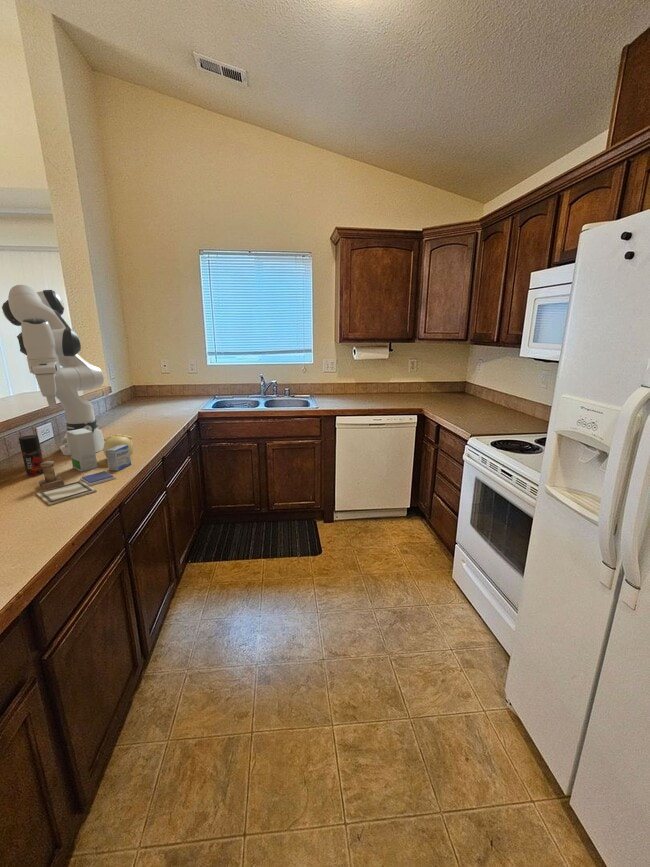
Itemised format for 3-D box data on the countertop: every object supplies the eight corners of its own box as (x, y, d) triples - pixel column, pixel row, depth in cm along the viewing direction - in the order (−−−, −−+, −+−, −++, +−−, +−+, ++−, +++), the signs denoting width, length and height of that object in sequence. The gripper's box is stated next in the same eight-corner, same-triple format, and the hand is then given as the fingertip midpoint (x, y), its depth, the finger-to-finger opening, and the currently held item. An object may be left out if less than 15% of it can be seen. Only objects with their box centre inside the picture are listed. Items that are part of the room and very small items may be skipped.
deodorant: (25, 477, 147) (16, 440, 143) (28, 472, 152) (20, 436, 148) (44, 474, 150) (36, 437, 146) (46, 469, 155) (39, 434, 151)
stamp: (39, 486, 139) (34, 463, 136) (58, 481, 143) (54, 458, 141) (44, 490, 135) (39, 466, 133) (64, 485, 139) (59, 462, 137)
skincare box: (72, 467, 157) (65, 431, 153) (89, 463, 162) (83, 427, 158) (82, 472, 152) (74, 434, 148) (99, 467, 157) (92, 430, 153)
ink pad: (80, 480, 144) (79, 477, 143) (105, 473, 150) (105, 470, 150) (89, 485, 138) (89, 482, 138) (115, 478, 145) (115, 475, 145)
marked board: (36, 494, 132) (35, 491, 131) (81, 482, 142) (81, 479, 142) (49, 505, 123) (48, 503, 123) (96, 491, 133) (96, 489, 133)
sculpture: (136, 452, 175) (132, 430, 172) (132, 461, 164) (128, 437, 161) (108, 455, 172) (104, 432, 169) (102, 464, 161) (98, 439, 158)
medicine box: (118, 471, 153) (114, 450, 150) (108, 470, 154) (105, 449, 151) (131, 464, 160) (128, 444, 158) (122, 463, 161) (119, 444, 159)
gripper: (35, 366, 140) (43, 403, 143) (31, 369, 123) (40, 411, 126) (56, 365, 143) (63, 401, 146) (55, 368, 126) (63, 409, 130)
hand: (53, 406), depth 136 cm, fingers open, 8 cm apart
